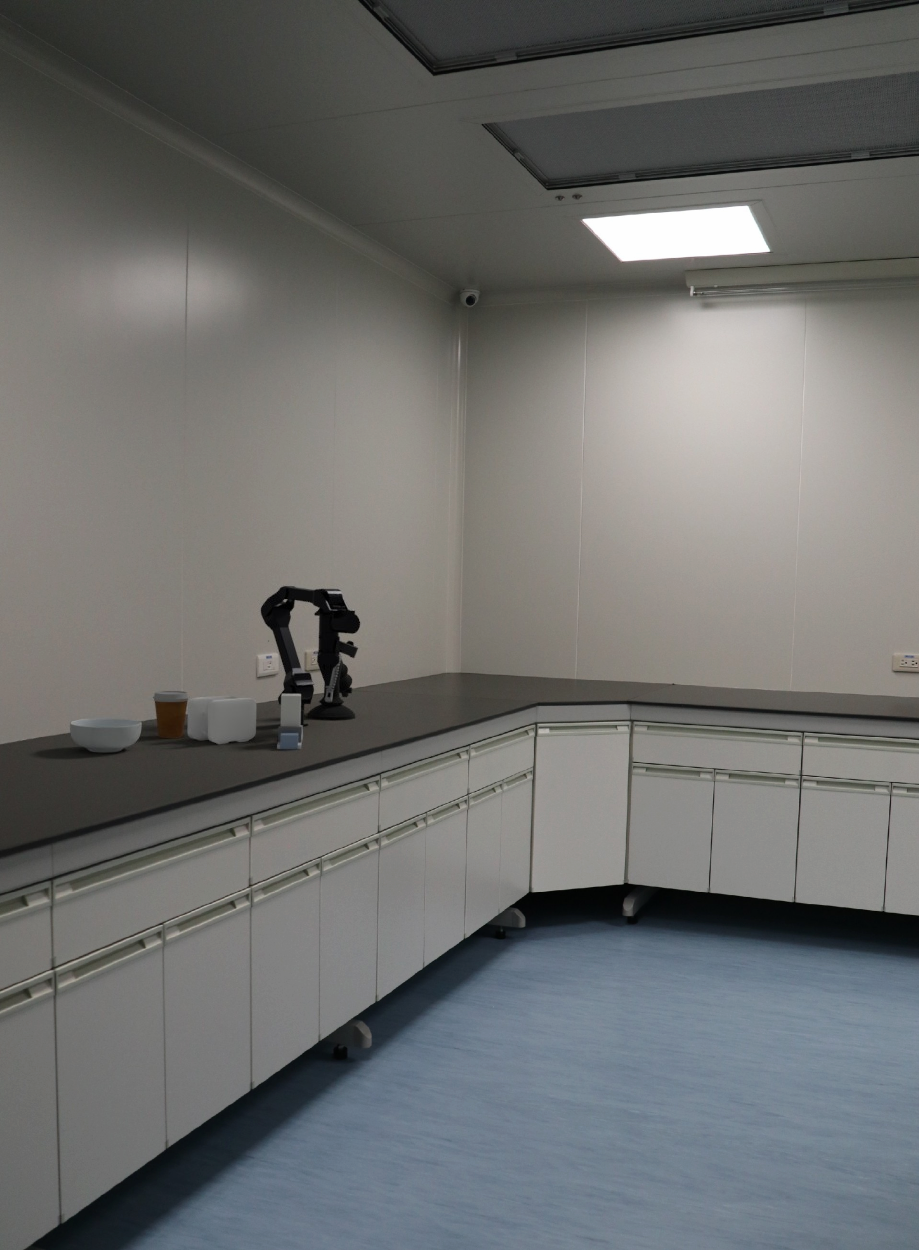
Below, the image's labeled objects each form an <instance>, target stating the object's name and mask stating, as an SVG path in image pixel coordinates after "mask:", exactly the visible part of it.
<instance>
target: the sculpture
mask: <svg viewBox="0 0 919 1250" xmlns="http://www.w3.org/2000/svg"><path fill="white" fill-rule="evenodd" d="M348 672H349V669H348V666H347V665H346V664H345V663H344V662H343V655H342V653H341V652H339V663H338V665H336V666H335V667H334V668H333V672H332V677H331V681H330V686H326V685H325V683H324V684H323V685H324V687H323V690H324V691H323V697H322V698H321V699H320V700H319V701H318V703H319V705H316V706H315V707H313V708H311V709H310V710H309V711H308V712H307V713H306V717H307V718H308V719H312V720H315V721H316V720H317V721H319V720H320V721H348V720H353V719H355V718H356V714H355V712H354V711H353V710H352V709H351V708H349V707H347V706H346V705H343V704H344V703H345V701H344V700H343V698H347V697H348V696H349V694H352V693H353V687H352V683H353V678H352V675H350V674H349V673H348ZM340 694H341V697H340Z"/></svg>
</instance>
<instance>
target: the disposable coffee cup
mask: <svg viewBox="0 0 919 1250" xmlns="http://www.w3.org/2000/svg"><path fill="white" fill-rule="evenodd" d="M152 698H153V702H154V706H155V716H156V724H157V733H158V738H160V739H161V738H162V739H178V738H182V737H183V735H184V729H185V728H184V727H185V722H186V721H185V720H186V714H187V709H188V703H189V699H190V696H189V693H188V691H183V690H182V691H181V690H162V691H161V690H159V691H155V692H154V696H153V697H152Z"/></svg>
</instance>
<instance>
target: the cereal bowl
mask: <svg viewBox="0 0 919 1250" xmlns="http://www.w3.org/2000/svg"><path fill="white" fill-rule="evenodd" d="M142 724H143V723H142V722H141V721H140V720H135V719H130V718H129V719H127V718H114V717H113V718H111V717H100V718H99V717H98V718H97V717H94V718H82V719H76V720H73V721H71V722H70V723H69V732H70V733H69V734H70V736H71V740H73V742H74V743H76V744H77V745H79V746H81V747H82V748H86V749H87V750H88V751H89V752H91V753H100V754H101V753H104V754H105V753H106V754H107V753H116V752H121V751H122V750H123V749H125V748H127V747H130V746H132V745H134V744H135V743H136V742H137V741H138V740H139V738H140V736H141V732H142Z"/></svg>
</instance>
